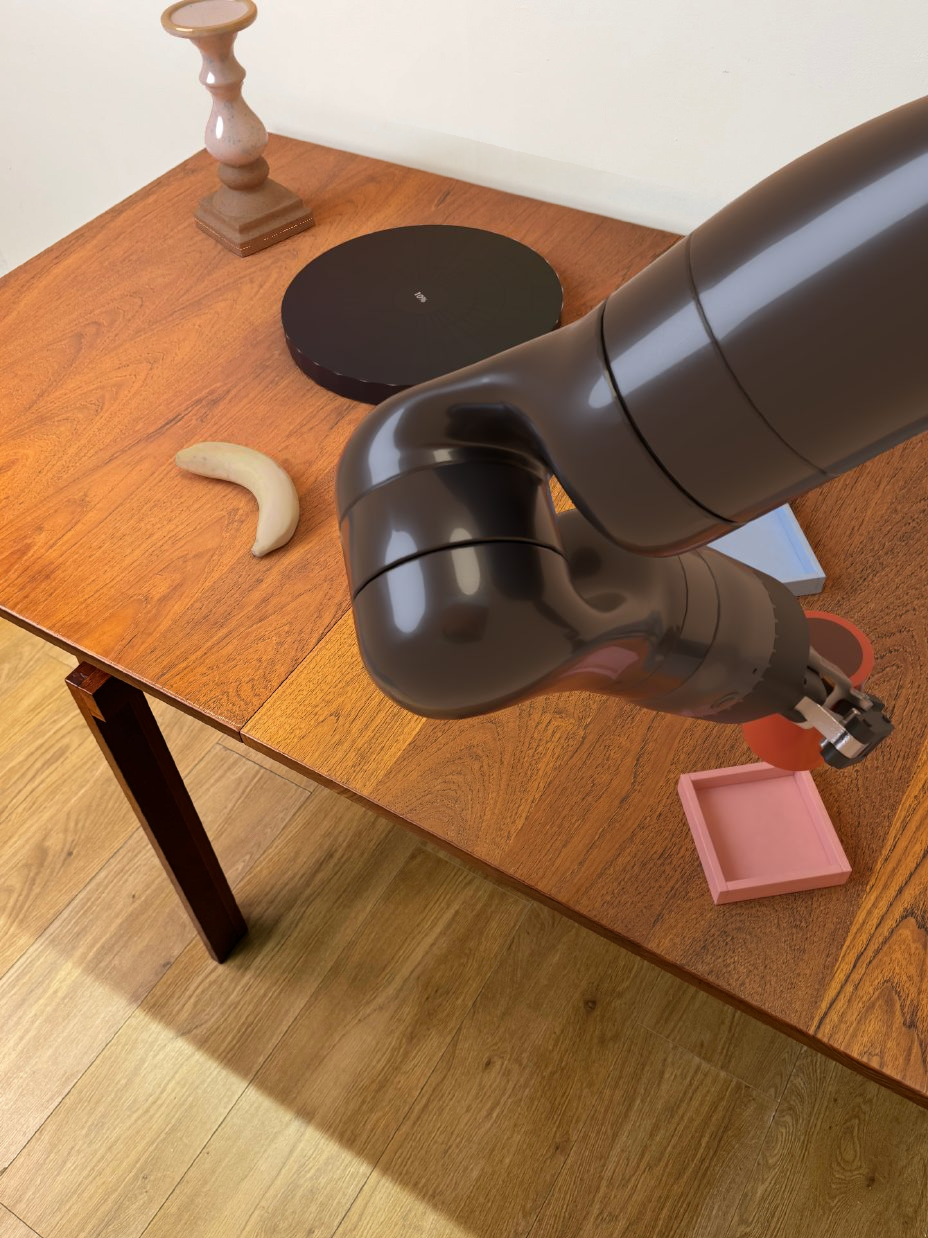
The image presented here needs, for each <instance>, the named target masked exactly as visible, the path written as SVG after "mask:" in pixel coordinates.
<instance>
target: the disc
mask: <svg viewBox="0 0 928 1238" xmlns="http://www.w3.org/2000/svg"><path fill="white" fill-rule="evenodd" d="M563 307H564V289H563V286H562V283H561V280H560V277H559V274H558V273H557V272H556V271H555V269H554V268H553V267H552V265H551V264H550V263H549V261H548V260H547V259H546V258H544V256H542V255H541V254H539V252H537V251H536V250H535V249H534V248H531V247H529V245H526V244H525V243H522V242H521V241H518V240H517V239H514V238H511V237H509V236H506V235H503V234H500V233H497V232H495V231H492V230H488V229H487V230H486V229H483V228H477V227H472V226H464V225H453V224H414V225H406V226H405V225H404V226H395V227H391V228H386V229H381V230H377V231H371V232H368V233H366V234H363V235H360V236H356V237H354V238H351V239H348V240H346V241H343V242H341V243H339V244H337V245H334V246H333V247H331V248H329V249H327V250H325V251H324V252H321V254H319V255H317V256H316V257H315V258H313V259H312V260H309V261H308V263H307V264H306V265H305V266H303V268H301V269H300V270H299V271H298V272H297V273H296V274H295V275H294V276H293V278H292V280H290V283H288V286H287V288H286V289H285V291H284V294H283V297H282V301H281V304H280V321H281V325H282V329H283V334H284V338H285V344H286V346H287V348H288V351H289V354H290V356H291V359H292V361H294V363H295V364H296V365H297V367H298V368H299V369H300V371H301V372H302V373H303V374H304V375H305V376H306V377H308V378H309V379H310V380H312V381H313V382H315V383H316V384H317V385H318V386H320V387H322V388H324V389H326V390H328V391H330V392H332V393H334V394H336V395H339V396H340V397H343V398H346V399H349V400H353V401H357V402H360V403H363V404H367V405H373V406H377V405H378V404H380V403H381V402H383V401H384V400H386V399H387V398H389V397H391V396H393V395H395V394H397V393H399V392H401V391H403V390H405V389H408V388H410V387H413V386H415V385H418V384H421V383H423V382H426V381H429V380H432V379H435V378H437V377H440V376H443V375H446V374H449V373H451V372H454V371H457V370H459V369H462V368H464V367H467V366H469V365H472V364H475V363H477V362H479V361H482V360H484V359H487V358H489V357H491V356H494V355H496V354H499V353H501V352H503V351H506V350H508V349H510V348H513V347H515V346H518V345H520V344H522V343H525V342H527V341H530V340H532V339H535V338H537V337H540V336H542V335H545V334H547V333H550V332H552V331H555V330H557V329H559V328H562V312H563V311H562V310H563Z"/></svg>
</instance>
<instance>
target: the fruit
mask: <svg viewBox="0 0 928 1238" xmlns="http://www.w3.org/2000/svg"><path fill="white" fill-rule="evenodd" d="M174 463H175V466H176V467H177V468H179V469H180V470H184V471H186V472H189V473H192V474H195V475H198V476H202V477H204V478H205V477H206V478H209V479H210V478H211V479H217V480H223V481H228V482H231V483H234V484H237V485H239V486H242V487H244V488H245V489H247V490H248V491H249V492H251V493H252V494H253V496H254V497H255V499H256V502H257V504H258V520H257V527H256V533H255V541H254V544H253V546H252V547H251V549H250V552H251V554H253V556H255V557H258V558H262V557H264V556H265V555H267V554H268V553H270V552H272V551H275V550H276V549H278V548H282V547H283V546H285V545H286V544H287V543H288V541H290V540H291V538H292V537H293V535H294V534H295V532H296V528H297V526H298V523H299V519H300V501H299V495H298V492H297V488H296V487H295V484H294V482H293V480H292V478H291V477H290V475H289V474H288V472H287V471H286V469H284V468H283V467H282V465H280V464H279V463H278V462H277V461H275V460H274V459H273V458H272V457H270V456H268V455H267V454H265V453H263V452H261V451H259V450H256V449H254V448H251V447H248V446H245V445H241V444H237V443H232V442H226V441H213V440H212V441H211V440H210V441H202V442H197V443H195V444H192V445H191V446H189V447H186V448H184V449H181V450H179V451H178V452H176V453H175V456H174Z"/></svg>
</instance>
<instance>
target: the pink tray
mask: <svg viewBox="0 0 928 1238" xmlns="http://www.w3.org/2000/svg"><path fill="white" fill-rule="evenodd" d="M676 788H677V789H676V790H677V792H678V793H677V794H678V795H679V799H680V802H681V805H682V807H683V811H684V814H685V818H686V820H687V823H688V827H689V829H690V833H691V836H692V839H693V842H694V845H695V848H696V851H697V854H698V857H699V859H700V863H701V866H702V869H703V872H704V875H705V878H706V881H707V884H708V887H709V890H710V894H711V897H712V900H713V903H714V905H716V906H717V905H722V904H729V903H730V904H731V903H736V902H742V901H748V900H754V899H760V898H766V897H773V896H779V895H785V894H792V893H797V892H802V891H804V892H805V891H809V890H816V889H817V890H818V889H822V888H828V887H833V886H834V887H835V886H841V885H845V884H846V883H847V881H848V879H849V878H850V875H851V874H852V872H853V869H852V866H851V864H850V862H849V860H848V857H847V854H846V853H845V851H844V848H843V846H842V844H841V841H840V839H839V837H838V834H837V832H836V829H835V827H834V825H833V823H832V820H831V818H830V816H829V813H828V811H827V809H826V807H825V804H824V801H823V800H822V797H821V795H820V791H819V790H818V788H817V785H816V783H815V781H814V779H813V776H812V774H811V770H808V771H787V770H783V769H780V768H777V767H774V766H772V765H770V764H768V763H766V762H765V761H761V762H753V763H747V764H740V765H735V766H728V767H722V768H714V769H708V770H703V771H695V772H694V771H693V772H689V773H681V774H680V775H679V779H678V785H677V787H676Z"/></svg>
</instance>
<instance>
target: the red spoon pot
mask: <svg viewBox="0 0 928 1238" xmlns="http://www.w3.org/2000/svg"><path fill="white" fill-rule="evenodd" d="M803 611H804V613H805V616H806V619H807V622H808V627H809V633H810V645H811V646H812V647H813V648H814V650H815V651H816V652H817V653H818V654H819V655H820V656H822V657H823V658H825V659H826V660H828V661H830V662H831V663H833V664H834V665H836V666H838V667H839V668H840V669H841V671H842V672H843V673H844V674H845V675H846V676H847V677H848V678H849V679H850V680H851V682H852V687H853V688H855V689H856V690H859V691H862V692H864V689H865V687H866V685H867V682H868V680H869V678H870V675H871V673H872V671H873V668H874V666H875V653H874V650H873V646H872V645H871V642H870V640H869V638H868V637H867V636H866V634H864V632H863V631H862V630H861V629H860V628H859V627H858V626H856V625H855V624H854V623H852V622H851V621H849V620H848V619H846V618H844V617H842V616H840V615H837V614H834V613H831V612H826V611H823V610H811V609H810V610H803ZM819 675H820V677H822V676H823V675H822V674H820V673H819ZM843 700H844V699H841V700H839V701H838V702H837V703H836V704H835V705H834V706H833V707H832V708H831V709H830V710H831V711H833V710H834V709H835V708H836V707H837V706H838V705H839V704H840V703H841V702H842V701H843ZM741 729H742V730H741V731H742V735H743V738H744V740H745V743H746V745H747V746H748V747H749V749H750V750H751V751H752V752H753V754H755V756H757V758H759V759H760V760H761V761H762V762H766V763H768V764H770V765H772V766H774V767H777V768H780V769H783V770H787V771H808V770H809V771H812V770H815V769H818V768H820V767H822V766H823V765H825V764H827V763H826V762H825V761H824V758H823V757H822V755H821V754H820V751H821V750H822V749H823V748H821V747H820V746H819V742H820V741H821V740H822V739H823V738H824V737H825V736H824V735H823V734H822V733H820V732H819V731H818V730H817V729H816V728H815V727H813V728H810V729H803V728H801V727H800V726H798V725H796V724H794V723H793V722H791V721H789V720H787V719H785V718H784V717H782V716H780V715H778V714H777V713H776V714H773V715H770V716H767V717H764V718H761V719H758V720H754V721H751V722H746V723H741Z"/></svg>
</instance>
